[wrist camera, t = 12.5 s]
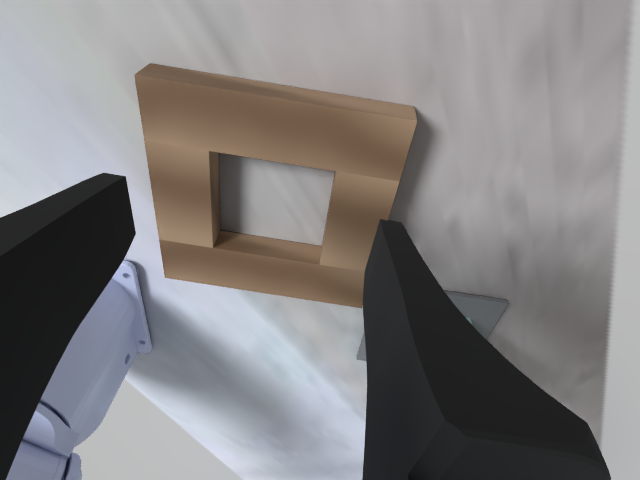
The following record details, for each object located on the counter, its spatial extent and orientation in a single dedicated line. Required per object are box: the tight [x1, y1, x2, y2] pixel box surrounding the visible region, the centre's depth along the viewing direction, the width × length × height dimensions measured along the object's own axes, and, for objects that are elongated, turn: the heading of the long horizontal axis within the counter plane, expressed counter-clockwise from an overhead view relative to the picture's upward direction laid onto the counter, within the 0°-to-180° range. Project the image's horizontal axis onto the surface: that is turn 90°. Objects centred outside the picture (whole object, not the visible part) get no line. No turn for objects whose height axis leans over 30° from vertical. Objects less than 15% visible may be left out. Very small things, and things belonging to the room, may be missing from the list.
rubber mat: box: [357, 290, 509, 361], centre depth 28 cm, size 8×8×1 cm
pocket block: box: [135, 63, 417, 308], centre depth 22 cm, size 12×12×2 cm
